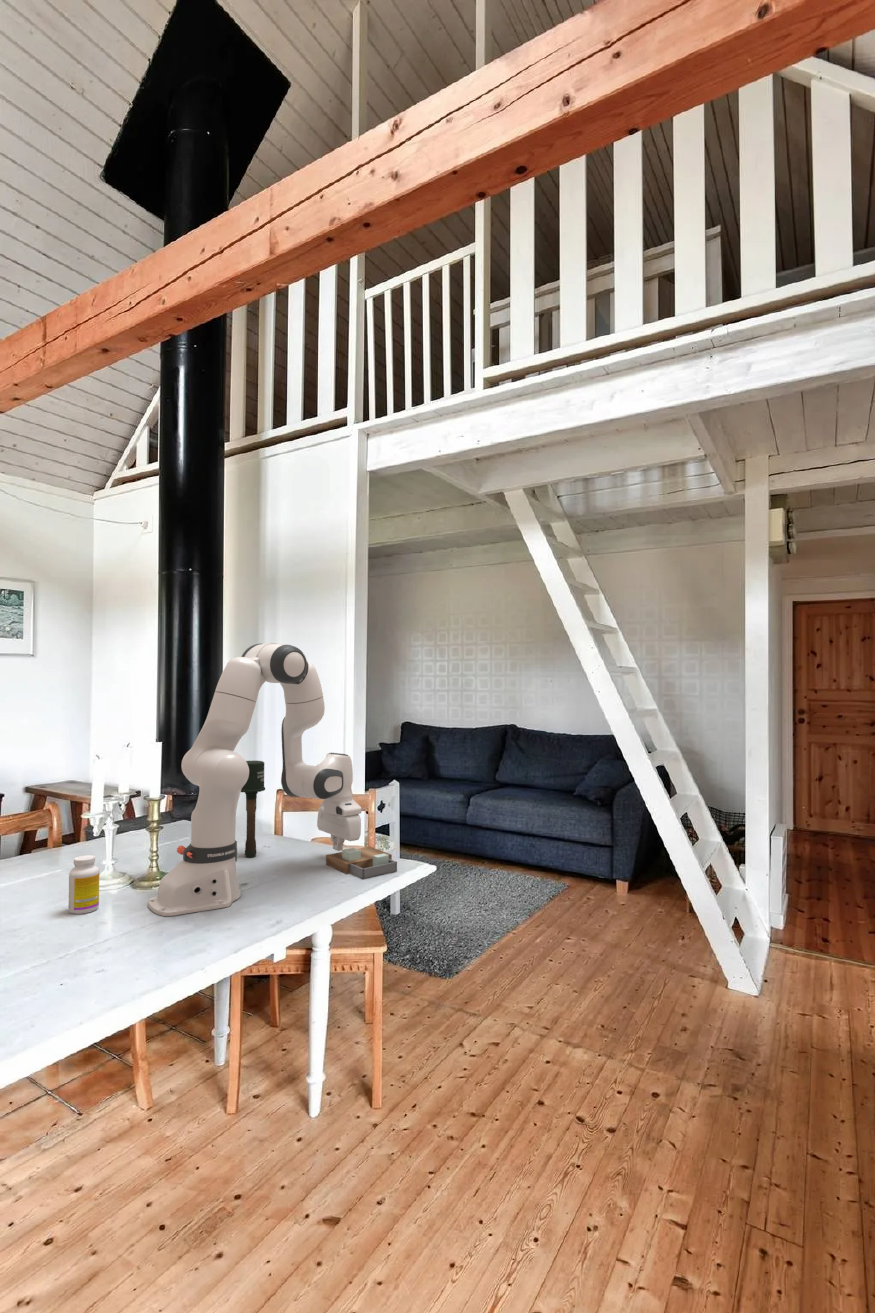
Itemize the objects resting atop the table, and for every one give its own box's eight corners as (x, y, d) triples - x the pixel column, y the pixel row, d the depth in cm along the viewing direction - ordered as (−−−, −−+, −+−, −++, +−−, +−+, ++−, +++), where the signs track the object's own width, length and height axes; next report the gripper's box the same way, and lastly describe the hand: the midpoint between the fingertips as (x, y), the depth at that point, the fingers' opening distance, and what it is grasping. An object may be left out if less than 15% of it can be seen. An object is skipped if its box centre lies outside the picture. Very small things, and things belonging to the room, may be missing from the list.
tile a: (349, 861, 197) (349, 852, 197) (342, 858, 200) (342, 849, 200) (360, 858, 200) (360, 850, 200) (353, 856, 203) (353, 847, 203)
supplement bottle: (104, 908, 165) (105, 856, 166) (78, 917, 160) (79, 863, 160) (88, 903, 169) (89, 852, 169) (62, 911, 163) (63, 858, 163)
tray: (362, 879, 190) (363, 869, 190) (350, 873, 195) (350, 864, 195) (396, 871, 197) (396, 862, 197) (383, 866, 203) (383, 856, 203)
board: (347, 874, 194) (347, 864, 194) (326, 865, 204) (326, 855, 204) (391, 864, 205) (391, 854, 205) (369, 855, 214) (369, 846, 214)
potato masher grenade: (260, 860, 208) (261, 764, 208) (232, 860, 208) (234, 763, 209) (267, 853, 216) (268, 760, 217) (241, 852, 216) (242, 760, 217)
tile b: (372, 869, 198) (377, 871, 197) (372, 855, 199) (377, 857, 197) (383, 866, 201) (388, 868, 199) (383, 853, 201) (388, 855, 199)
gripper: (312, 801, 212) (311, 844, 212) (346, 811, 197) (346, 858, 196) (329, 798, 216) (329, 841, 216) (364, 809, 201) (364, 855, 200)
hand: (337, 849), depth 206 cm, fingers closed
